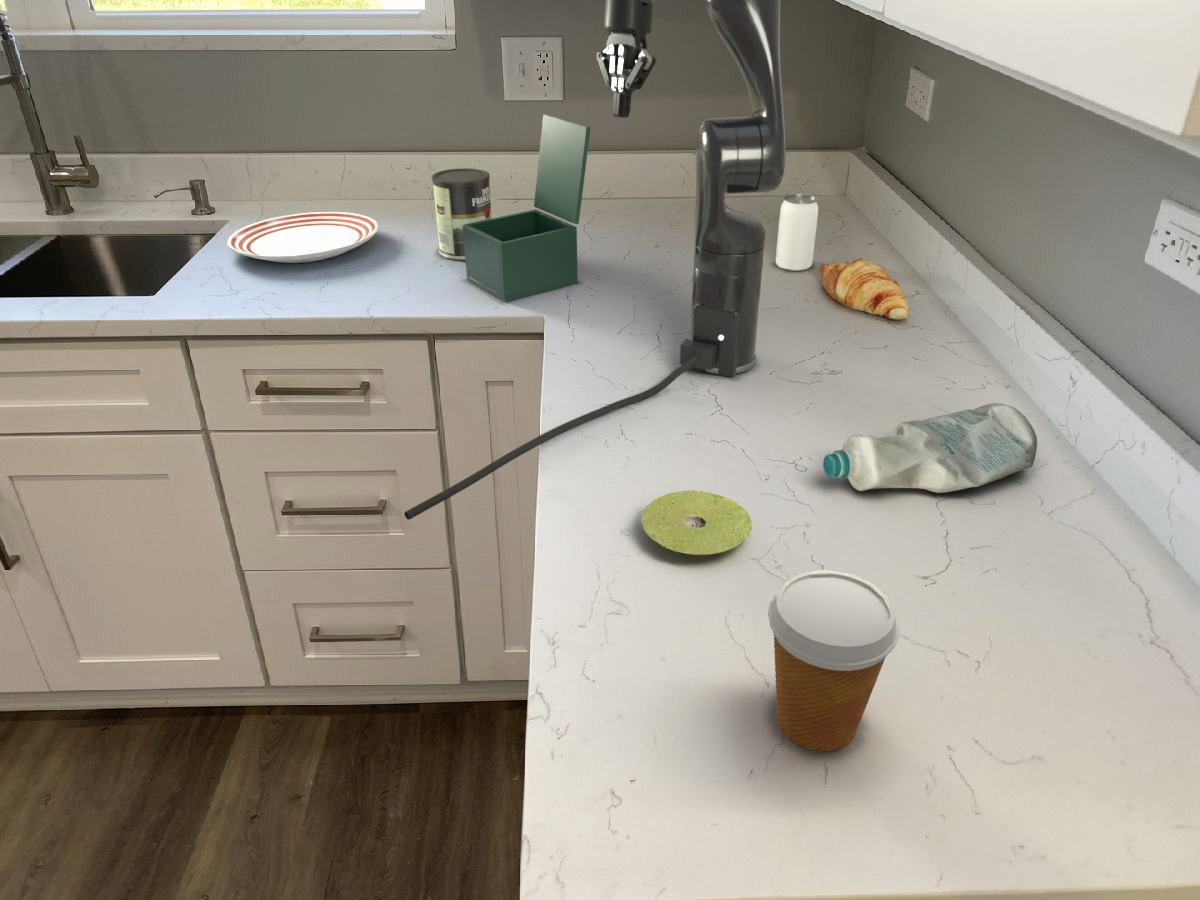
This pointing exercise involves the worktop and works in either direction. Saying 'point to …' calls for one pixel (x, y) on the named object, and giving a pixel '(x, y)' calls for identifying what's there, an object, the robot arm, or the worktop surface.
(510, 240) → the caddy
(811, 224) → the can
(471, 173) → the coffee can
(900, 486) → the crushed plastic bottle
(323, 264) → the worktop surface
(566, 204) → the lid
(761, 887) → the worktop surface
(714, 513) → the green disc
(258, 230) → the dinner plate
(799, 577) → the disposable coffee cup
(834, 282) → the croissant
